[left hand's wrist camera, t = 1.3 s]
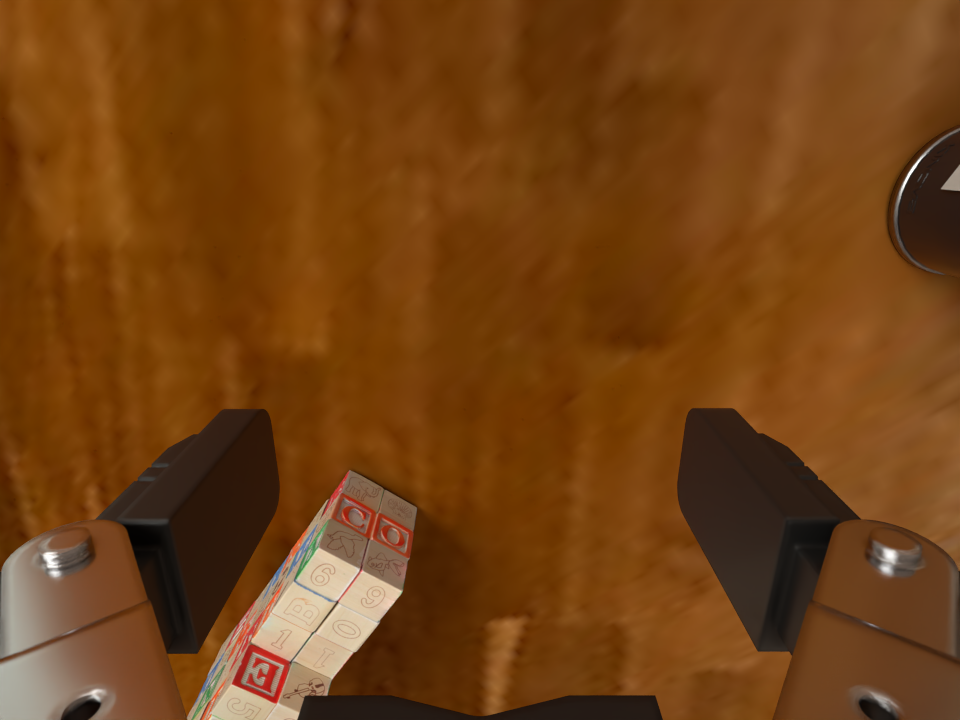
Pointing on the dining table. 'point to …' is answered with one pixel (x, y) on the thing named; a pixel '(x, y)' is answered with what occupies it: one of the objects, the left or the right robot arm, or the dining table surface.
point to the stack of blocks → (314, 607)
